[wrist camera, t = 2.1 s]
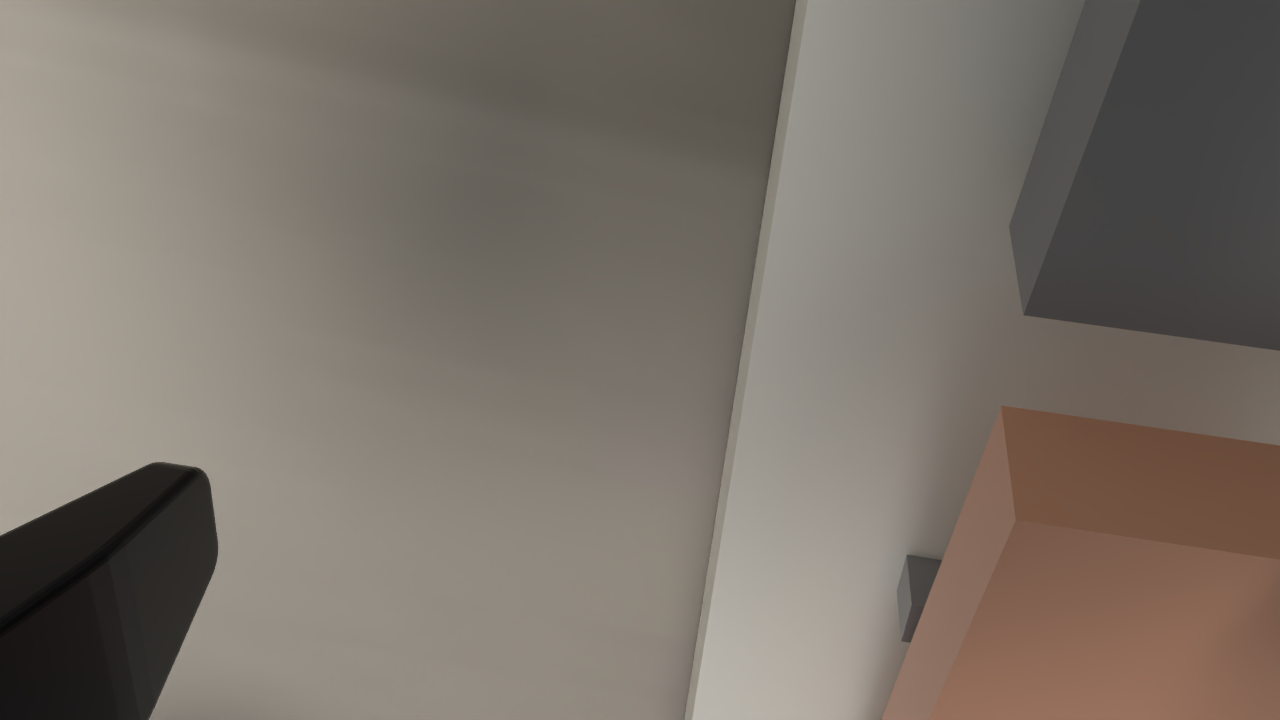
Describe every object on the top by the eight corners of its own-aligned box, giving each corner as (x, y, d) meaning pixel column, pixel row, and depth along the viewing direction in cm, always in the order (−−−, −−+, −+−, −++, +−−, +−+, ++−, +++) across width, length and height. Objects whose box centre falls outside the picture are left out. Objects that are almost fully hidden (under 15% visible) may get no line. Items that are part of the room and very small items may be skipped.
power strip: (1009, 1066, 28) (1051, 1370, 23) (640, 1000, 29) (603, 1281, 24) (1885, -767, 11) (2792, -1147, 6) (926, -837, 12) (1010, -1233, 7)
